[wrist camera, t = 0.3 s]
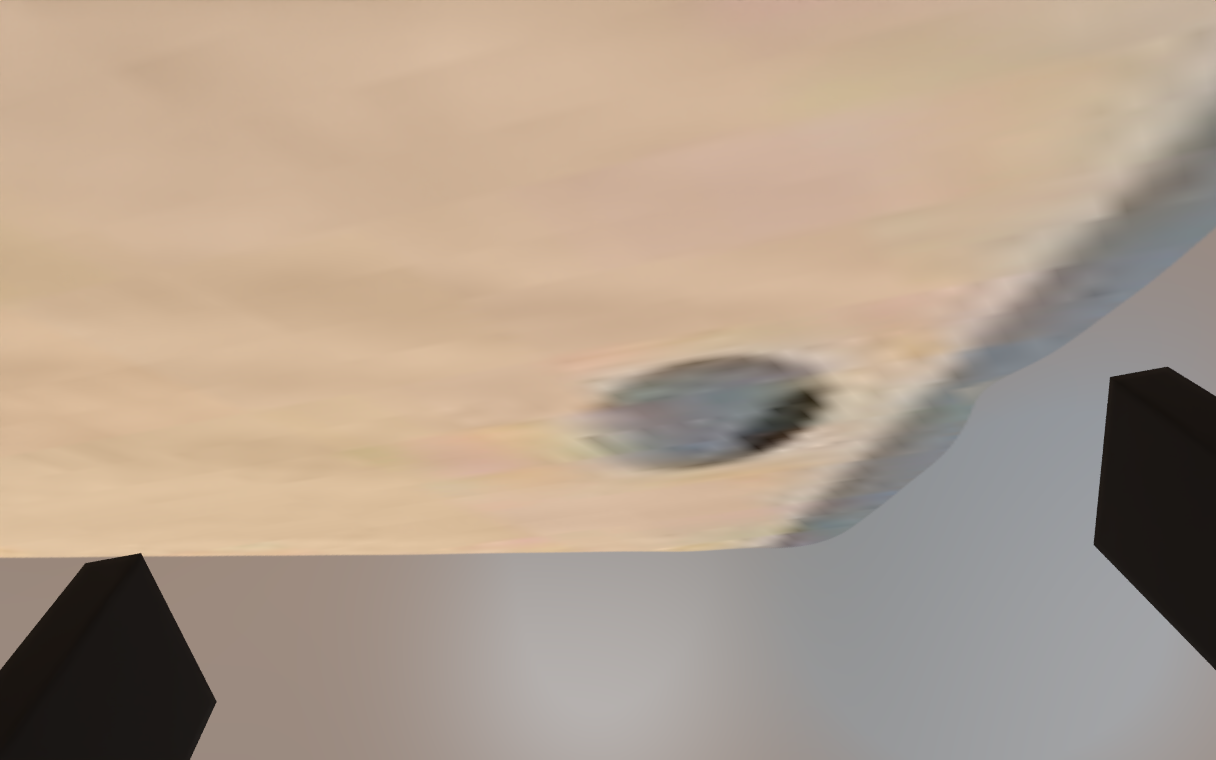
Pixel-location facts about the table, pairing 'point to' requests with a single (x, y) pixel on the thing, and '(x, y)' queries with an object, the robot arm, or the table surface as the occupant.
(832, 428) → the table surface
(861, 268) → the table surface
